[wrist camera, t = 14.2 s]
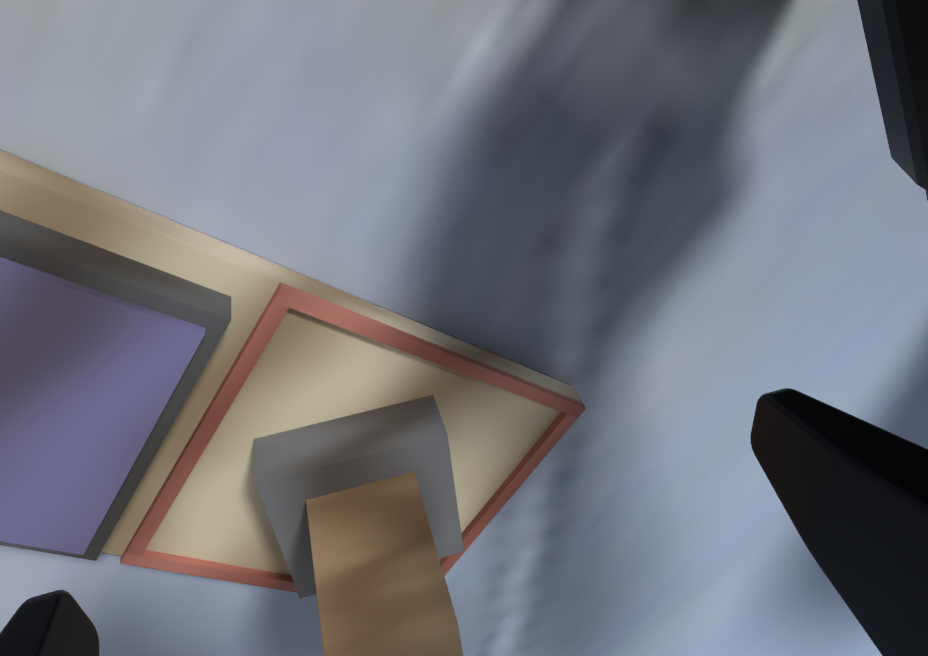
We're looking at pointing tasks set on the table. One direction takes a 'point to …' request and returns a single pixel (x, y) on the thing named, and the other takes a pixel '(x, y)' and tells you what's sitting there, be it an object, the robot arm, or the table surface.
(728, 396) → the table surface
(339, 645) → the stamp
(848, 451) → the robot arm
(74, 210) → the board
